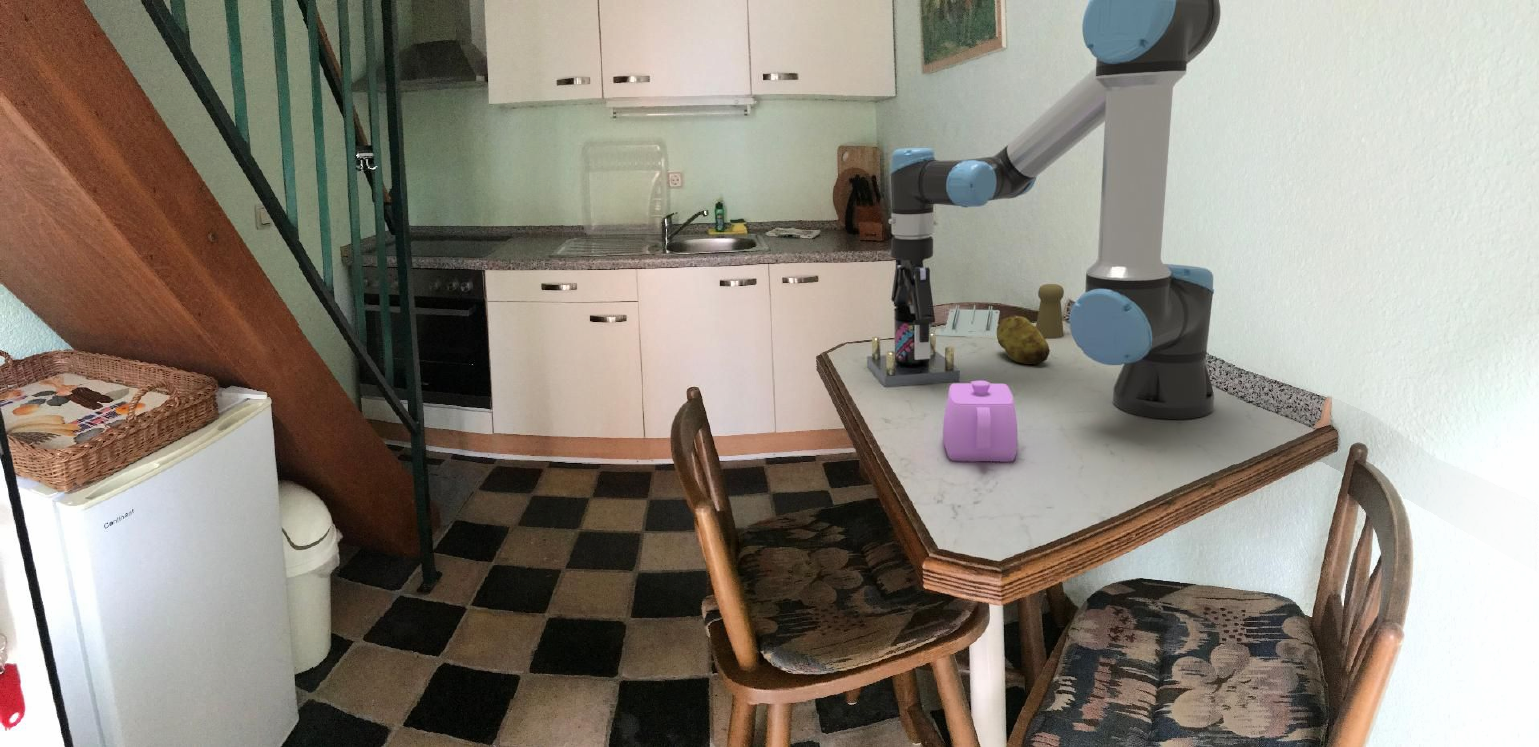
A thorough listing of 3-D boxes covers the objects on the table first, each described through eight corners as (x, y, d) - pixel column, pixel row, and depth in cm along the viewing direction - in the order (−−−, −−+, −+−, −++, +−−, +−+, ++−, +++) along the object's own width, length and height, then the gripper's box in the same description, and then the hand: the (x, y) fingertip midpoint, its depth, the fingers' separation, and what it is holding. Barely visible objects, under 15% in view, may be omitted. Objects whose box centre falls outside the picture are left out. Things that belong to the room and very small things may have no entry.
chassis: (959, 381, 163) (960, 349, 162) (884, 387, 162) (884, 355, 160) (936, 361, 177) (936, 331, 175) (867, 366, 175) (866, 336, 174)
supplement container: (893, 358, 172) (892, 305, 169) (928, 358, 172) (929, 304, 169) (895, 368, 166) (895, 313, 163) (932, 368, 165) (932, 312, 162)
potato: (1008, 369, 169) (1009, 328, 167) (992, 351, 182) (993, 313, 180) (1052, 367, 169) (1054, 326, 167) (1033, 349, 182) (1034, 311, 179)
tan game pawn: (1040, 339, 189) (1043, 288, 186) (1030, 332, 195) (1032, 282, 192) (1068, 337, 190) (1071, 286, 187) (1056, 331, 195) (1059, 281, 192)
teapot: (941, 426, 141) (941, 364, 138) (1009, 427, 140) (1011, 364, 137) (944, 470, 124) (945, 400, 121) (1022, 472, 123) (1025, 401, 120)
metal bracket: (941, 300, 205) (1009, 301, 201) (942, 322, 208) (1008, 324, 204) (933, 331, 194) (1004, 334, 189) (934, 354, 197) (1004, 357, 192)
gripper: (875, 228, 173) (876, 335, 179) (911, 246, 150) (910, 368, 156) (913, 226, 174) (912, 332, 180) (954, 244, 150) (952, 365, 156)
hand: (911, 349), depth 168 cm, fingers open, 13 cm apart
